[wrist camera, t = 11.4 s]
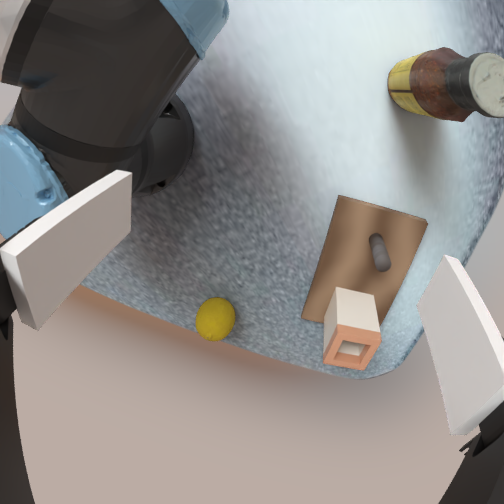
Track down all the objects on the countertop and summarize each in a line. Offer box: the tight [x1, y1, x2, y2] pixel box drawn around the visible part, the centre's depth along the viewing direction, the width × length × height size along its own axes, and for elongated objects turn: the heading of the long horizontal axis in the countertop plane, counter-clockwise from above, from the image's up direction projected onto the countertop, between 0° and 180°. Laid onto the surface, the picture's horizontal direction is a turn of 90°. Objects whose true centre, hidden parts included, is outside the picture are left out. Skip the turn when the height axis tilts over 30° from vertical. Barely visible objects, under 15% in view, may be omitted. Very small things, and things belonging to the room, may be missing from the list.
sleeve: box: [323, 287, 382, 370], centre depth 40 cm, size 6×6×9 cm
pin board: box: [301, 195, 428, 327], centre depth 39 cm, size 12×19×7 cm, turn 171°
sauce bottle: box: [388, 47, 504, 122], centre depth 21 cm, size 7×6×20 cm
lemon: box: [196, 297, 235, 341], centre depth 46 cm, size 6×6×8 cm
